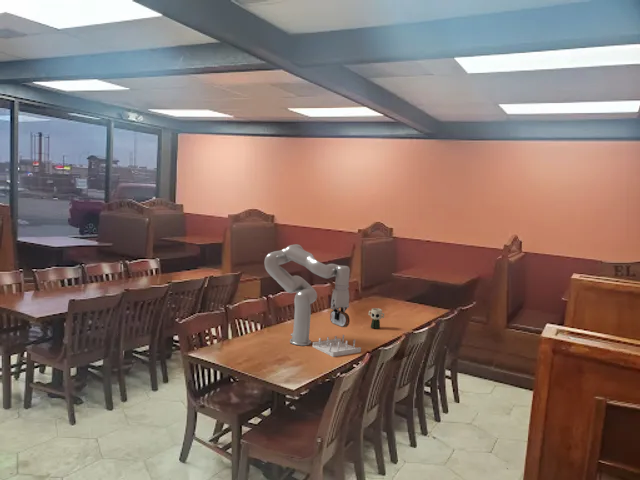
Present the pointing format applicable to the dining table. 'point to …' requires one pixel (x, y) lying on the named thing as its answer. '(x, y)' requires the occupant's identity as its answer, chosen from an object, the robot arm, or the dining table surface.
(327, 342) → the dish rack
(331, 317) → the tin
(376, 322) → the character mug
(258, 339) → the dining table surface
